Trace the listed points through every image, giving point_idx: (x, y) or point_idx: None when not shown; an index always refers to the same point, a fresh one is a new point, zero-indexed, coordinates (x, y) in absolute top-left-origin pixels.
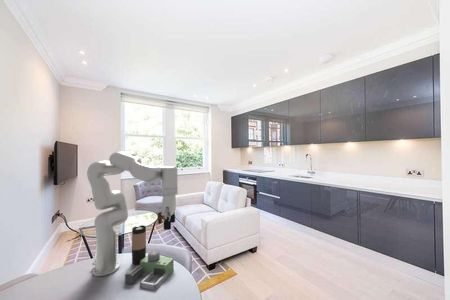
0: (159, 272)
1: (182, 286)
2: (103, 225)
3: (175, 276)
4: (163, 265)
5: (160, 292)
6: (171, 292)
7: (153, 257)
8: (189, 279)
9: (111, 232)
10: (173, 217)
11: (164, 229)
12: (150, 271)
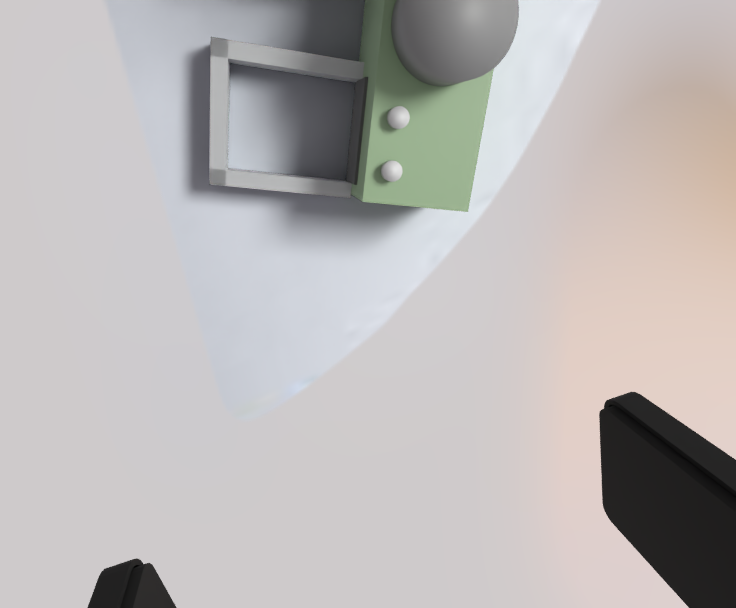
0: (353, 135)
1: (282, 334)
2: None
3: (365, 249)
4: (365, 173)
5: (200, 229)
6: (217, 296)
7: (409, 44)
8: (349, 345)
9: None
10: (704, 597)
11: (109, 582)
12: (365, 42)
